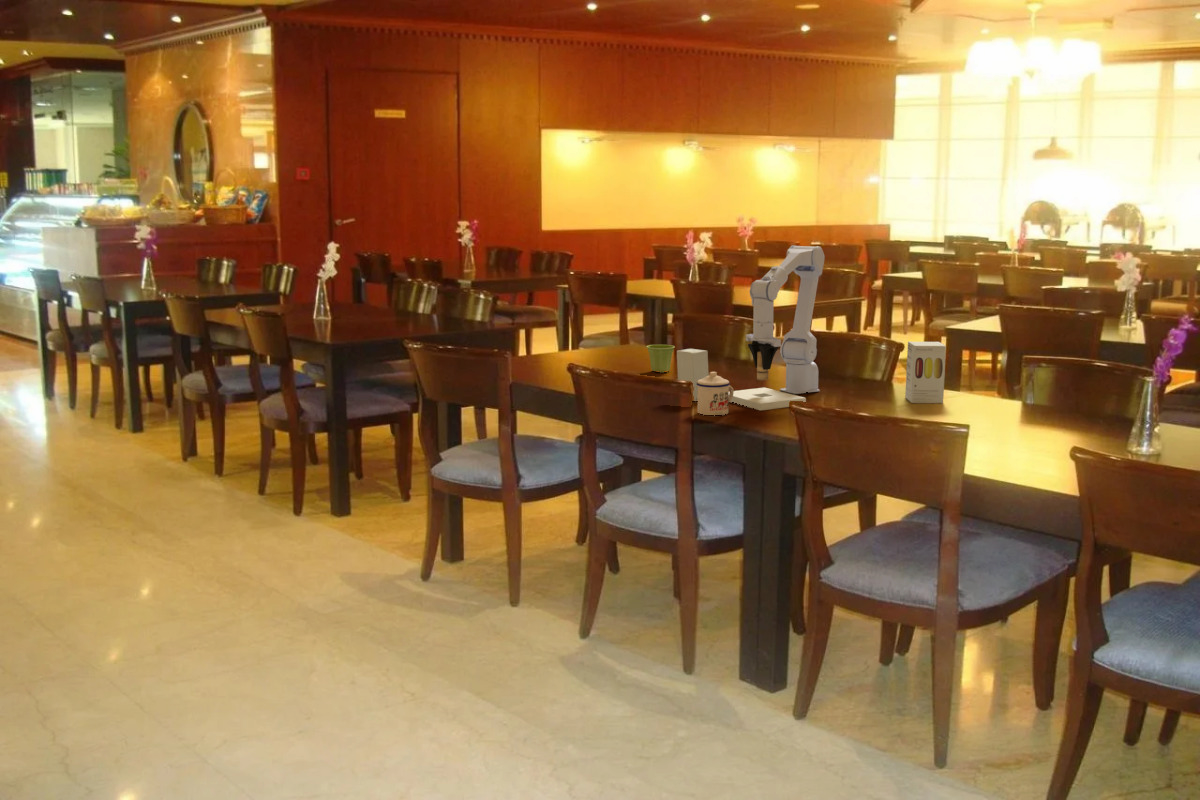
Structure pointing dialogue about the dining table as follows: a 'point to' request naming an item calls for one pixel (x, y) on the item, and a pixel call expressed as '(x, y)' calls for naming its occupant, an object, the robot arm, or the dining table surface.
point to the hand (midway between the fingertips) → (762, 368)
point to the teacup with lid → (713, 395)
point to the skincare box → (692, 367)
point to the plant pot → (660, 357)
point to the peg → (761, 368)
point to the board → (764, 398)
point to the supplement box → (925, 372)
